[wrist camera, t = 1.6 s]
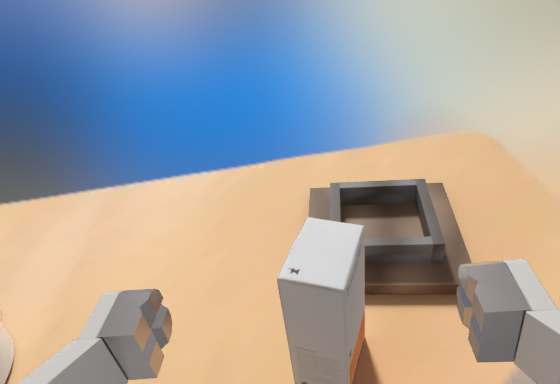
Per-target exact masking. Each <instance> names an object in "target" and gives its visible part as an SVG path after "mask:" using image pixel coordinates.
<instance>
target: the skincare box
mask: <svg viewBox="0 0 560 384" xmlns="http://www.w3.org/2000/svg"><path fill="white" fill-rule="evenodd" d="M277 282H278V288H279V295H280V300H281V306H282V311H283V317H284V323H285V329H286V334H287V340H288V345H289V351H290V358H291V364H292V369H293V375H294V381H295V384H352V383H353V379H354V374H355V370H356V366H357V362H358V358H359V354H360V351H361V347H362V343H363V340H364V336H365V227H364V226H363V225H356V224H350V223H342V222H336V221H329V220H323V219H317V218H311V217H308V218H307V219H306V221H305V223H304V225H303V227H302V229H301V231H300V233H299V235H298V237H297V238H296V239H295V241H294V243H293V245H292V247H291V249H290V252H289V255H288V257H287V259H286V261H285V263H284V265H283V267H282V269H281V271H280V273H279V275H278V277H277Z"/></svg>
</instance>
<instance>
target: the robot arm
mask: <svg viewBox="0 0 560 384" xmlns="http://www.w3.org/2000/svg"><path fill="white" fill-rule="evenodd" d="M458 277H459V279H460V282H461V284H460V285H459V286H458V287H457V306H458V311H459V315H460V318H461V321H462V323H463V325H465V326H466V327H467V328H468V329H469V337H468V340H469V342H470V345H471V347H472V350H473V353H474V355H475V358H476V360H477V362H514V364H515V365H517V366H518V367H519V368H520V369H521V370H522V371H523V372H524V373H525V374H526V375H528V376H529V377H530V378H531V379H532V380H533V381H534V382H535V383H536V384H560V309H557V307H556V306H555V304H554V303H553V301H552V299H551V298H550V296H549V295H548V293H547V292H546V290H545V288H544V287H543V285H542V284H541V282H540V281H539V279H538V277H537V276H536V274H535V273H534V271H533V269H532V268H531V266H530V265H529V263H528V262H527V261H526V260H525V259H514V260H503V261H492V262H481V263H470V264H460V267H459V271H458ZM162 299H163V297H162V295H161V293H160V291H159V290H157V289H146V290H127V291H115V292H106V293H104V294H103V295H102V296H101V298H100V300H99V301H98V303H97V305H96V307H95V309H94V311H93V312H92V314H91V316H90V318H89V320H88V322H87V323H86V325H85V327H84V329H83V331H82V333H81V334H80V336H79V338H78V340H72V341H71V342H70V343H68V344H67V345H66V346H65V347H63V348H62V349H61V350H60V351H58V352H57V353H56V354H55V355H53V356H52V357H51V358H50V359H48V360H47V361H46V362H45V363H43V364H42V365H41V366H40V367H38V368H37V369H36V370H35V371H33V372H32V373H31V374H30V375H28V376H27V377H26V378H25V379H23V380H22V381H21V382H20V383H18V384H127V382H128V381H127V380H136V379H148V378H157V376H158V373H159V370H160V367H161V364H162V361H163V358H164V355H163V352H162V350H161V349H162V348H163V347H164V346H165V345H166V344H167V343H168V342H169V340H170V336H171V333H172V319H171V314H170V312H169V310H168V308H166V307H165V306H163V305H162V304H161V302H162ZM13 357H14V345H13V341H12V338H11V336H10V334H9V333H8V331H7V330H6V329H5V328H4V327H3V325H2V323H1V305H0V384H4V383H5V381H6V379H7V377H8V375H9V372H10V369H11V366H12V362H13Z"/></svg>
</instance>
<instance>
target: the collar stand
mask: <svg viewBox="0 0 560 384" xmlns="http://www.w3.org/2000/svg"><path fill="white" fill-rule="evenodd" d="M309 217H311V218H317V219H323V220H329V221H336V222H342V223H350V224H356V225H363V226H364V227H365V294H457V287H458V286H459V285H460V284H461V282H460V279H459V277H458V271H459V267H460V264H470V263H471V260H470V257H469V255H468V252H467V249H466V246H465V244H464V241H463V238H462V235H461V233H460V230H459V227H458V225H457V222H456V219H455V216H454V214H453V211H452V208H451V205H450V203H449V200H448V197H447V194H446V192H445V189H444V186H443V183H426V181H425V179H411V180H389V181H367V182H345V183H330V188H310V202H309Z"/></svg>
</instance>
